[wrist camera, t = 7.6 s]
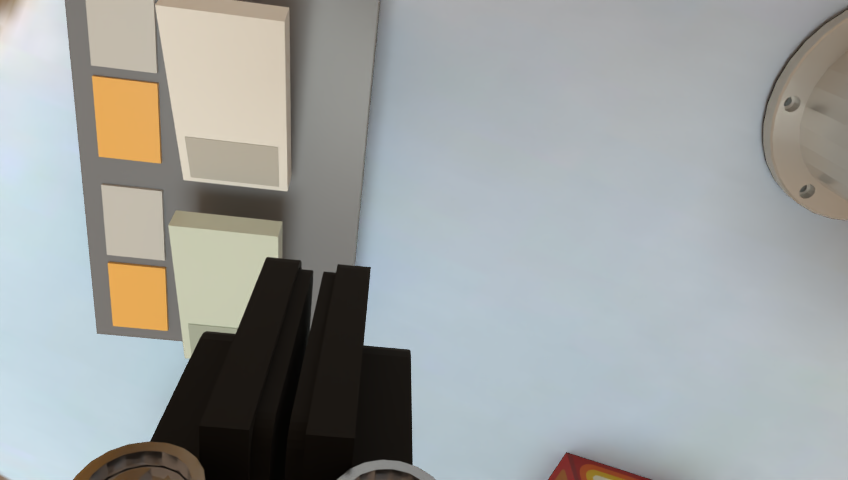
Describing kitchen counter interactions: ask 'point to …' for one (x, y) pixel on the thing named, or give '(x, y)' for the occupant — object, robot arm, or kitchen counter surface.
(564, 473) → the baking soda box
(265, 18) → the rocker offwhite
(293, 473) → the robot arm
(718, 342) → the kitchen counter surface
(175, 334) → the switch unit
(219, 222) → the block
